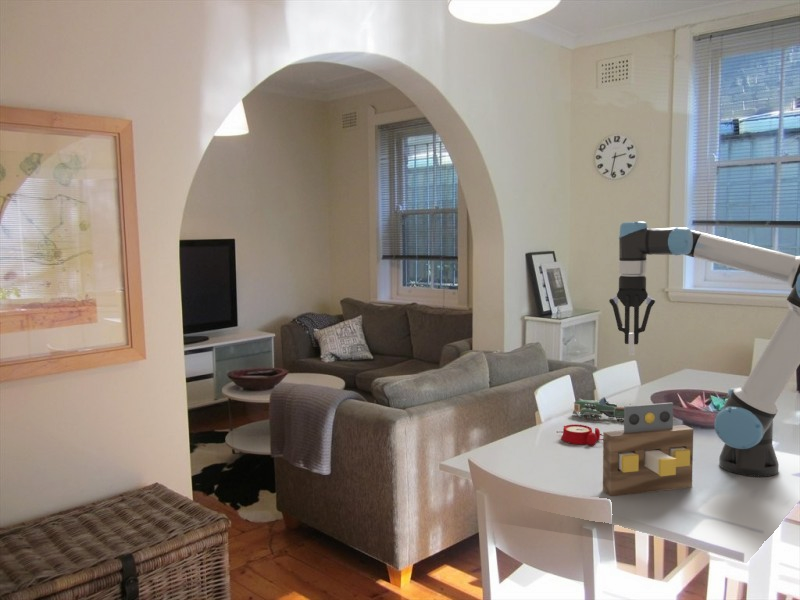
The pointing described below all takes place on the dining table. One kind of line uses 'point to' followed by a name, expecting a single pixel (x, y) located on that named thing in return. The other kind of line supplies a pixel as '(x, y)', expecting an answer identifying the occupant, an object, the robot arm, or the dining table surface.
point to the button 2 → (680, 456)
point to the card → (648, 417)
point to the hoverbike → (598, 409)
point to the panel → (644, 477)
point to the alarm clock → (580, 434)
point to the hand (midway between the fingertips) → (631, 355)
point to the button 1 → (628, 461)
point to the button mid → (659, 462)
